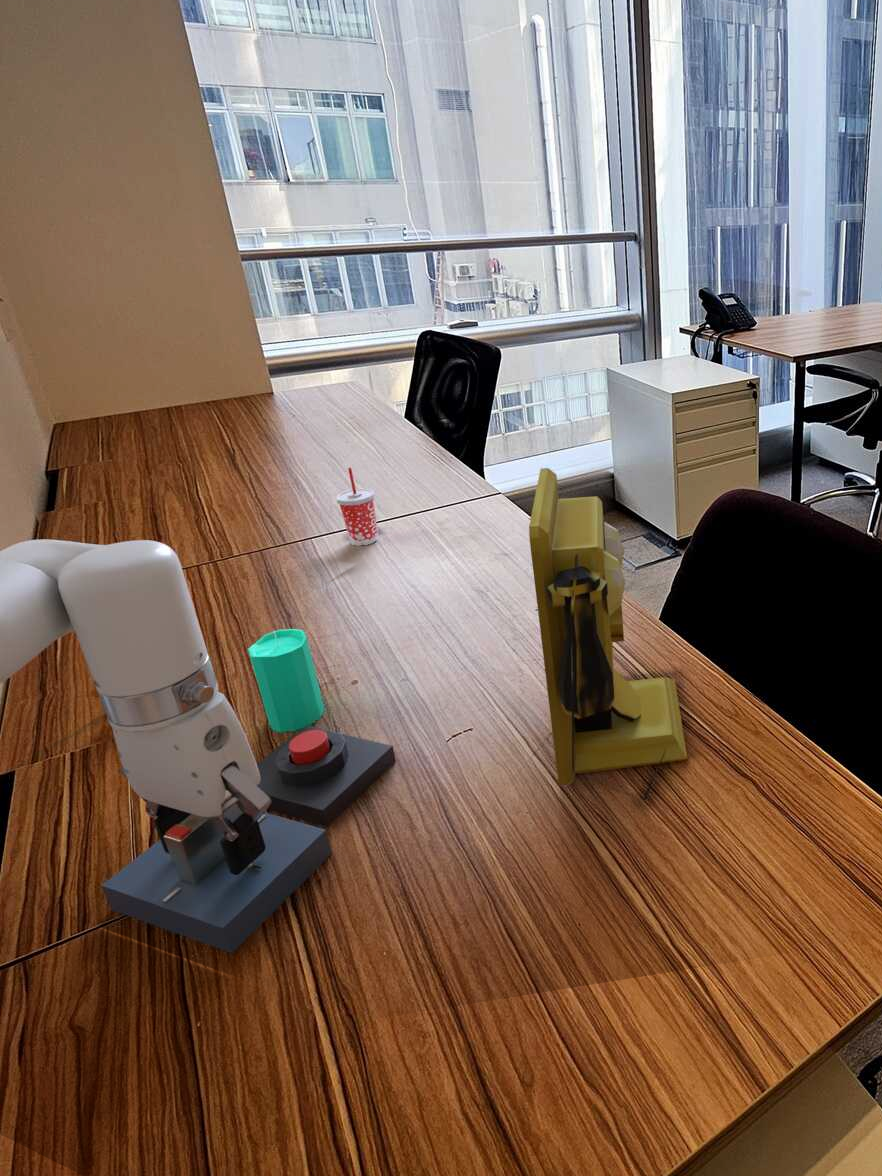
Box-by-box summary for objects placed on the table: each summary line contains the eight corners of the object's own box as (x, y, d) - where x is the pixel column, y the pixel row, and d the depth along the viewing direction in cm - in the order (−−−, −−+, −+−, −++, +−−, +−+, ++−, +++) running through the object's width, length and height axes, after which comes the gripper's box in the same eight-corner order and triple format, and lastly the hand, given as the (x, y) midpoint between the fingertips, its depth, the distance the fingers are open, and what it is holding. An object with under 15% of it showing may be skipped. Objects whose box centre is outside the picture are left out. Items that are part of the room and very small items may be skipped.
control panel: (111, 910, 69) (100, 884, 68) (221, 820, 79) (213, 796, 77) (232, 953, 65) (222, 926, 64) (332, 853, 75) (325, 828, 73)
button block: (235, 801, 81) (225, 770, 80) (310, 740, 90) (303, 712, 88) (327, 827, 78) (319, 796, 76) (396, 761, 86) (390, 732, 85)
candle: (309, 695, 98) (287, 612, 93) (334, 712, 95) (313, 627, 90) (259, 720, 93) (234, 634, 89) (284, 739, 90) (259, 651, 85)
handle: (238, 829, 73) (223, 785, 71) (254, 834, 73) (240, 790, 71) (178, 879, 68) (161, 833, 66) (195, 885, 68) (179, 839, 66)
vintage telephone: (697, 825, 77) (688, 556, 66) (555, 844, 75) (520, 569, 64) (670, 653, 106) (660, 444, 95) (566, 663, 104) (543, 451, 93)
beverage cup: (365, 549, 137) (350, 475, 132) (338, 545, 139) (322, 471, 134) (390, 536, 142) (376, 464, 137) (363, 531, 144) (349, 460, 139)
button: (284, 761, 81) (280, 748, 81) (311, 739, 84) (307, 726, 84) (311, 768, 80) (307, 755, 80) (337, 746, 83) (334, 733, 83)
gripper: (280, 681, 64) (324, 843, 71) (128, 647, 69) (183, 802, 76) (198, 737, 58) (255, 911, 65) (36, 696, 63) (105, 860, 70)
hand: (216, 850), depth 70 cm, fingers open, 7 cm apart
